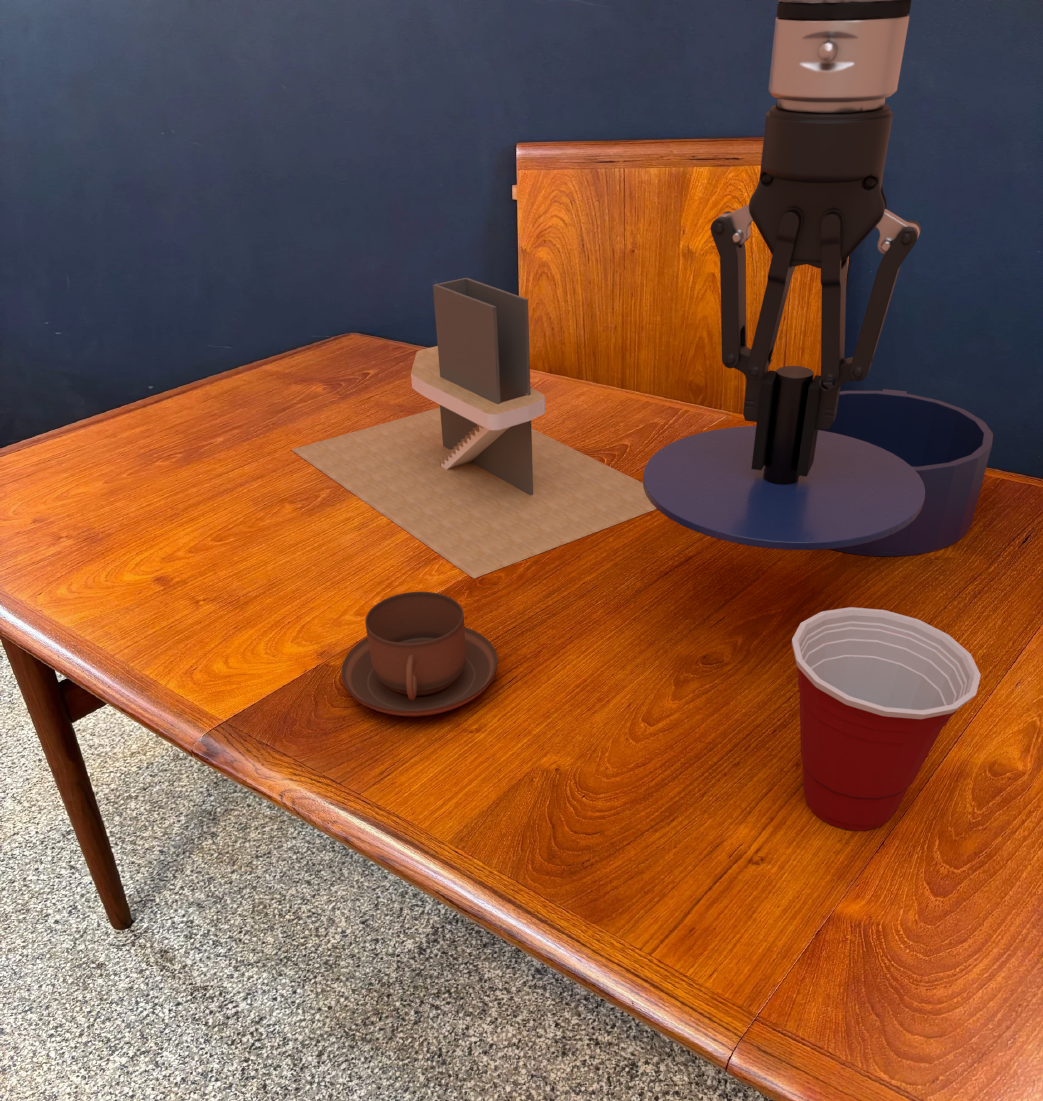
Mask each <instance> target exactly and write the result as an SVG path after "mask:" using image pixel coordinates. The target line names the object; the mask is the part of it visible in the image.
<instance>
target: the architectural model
mask: <svg viewBox="0 0 1043 1101" xmlns="http://www.w3.org/2000/svg"><path fill="white" fill-rule="evenodd" d="M432 290H433V292H432V294H433V304H434V306H433V307H434V317H435V330H436V342H437V343H436V344H437V345H435V346H432V347H427V348H424V349H420V350H418V351H416V353H415V357H414V360H413V362H412V363H413V364H412V367H411V371H410V377H411V388H412V389H413V390H414V391H416V392H417V393H418V394H420V395H421V396H422V397H424V398H426V399H429V400H430V401H432V402H434V403H436V404H438V405H439V407H437V408H433V409H430V410H426V411H422V412H419V413H415V414H412V415H409V416H405V417H402V418H398V419H394V420H391V421H387V422H384V423H379V424H376V425H372V426H370V427H366V428H363V429H359V430H355V431H352V432H349V433H344V434H341V435H338V436H334V437H330V438H327V439H324V440H319V441H317V442H313V443H309V444H305V445H301V446H299V447H295V448H292V449H290V450H291V451H292V452H293V453H295V454H296V455H298V456H299V458H302V459H303V460H305V461H306V462H307V463H309V464H310V465H312V466H313V467H314V468H316V469H317V470H319V471H320V472H321V473H323V474H325V475H326V476H328V477H329V478H330V479H331V480H333V481H334V482H336V483H337V484H338V485H340V486H341V487H343V488H344V489H345V490H347V491H348V492H350V493H351V494H352V495H354V496H356V497H357V498H358V499H360V500H361V501H363V502H364V503H366V504H367V505H368V506H370V507H371V508H373V510H376V511H377V512H378V513H380V514H381V515H383V517H385V518H387V519H388V520H390V522H393V523H394V524H395V525H396V526H398V527H400V528H402V530H404V531H405V532H406V533H408V534H409V535H411V536H412V537H414V538H415V539H416V540H418V541H419V542H421V543H422V544H424V545H425V546H427V547H428V548H430V549H431V550H433V551H434V552H435V553H437V554H438V555H439V556H441V557H442V558H444V560H446V561H448V562H449V563H450V564H452V565H454V566H455V567H456V568H458V569H459V570H461V571H462V572H463V573H464V574H466V575H468V576H469V577H471V578H472V579H477V578H479V577H483V576H485V575H487V574H490V573H493V572H496V571H498V570H500V569H503V568H505V567H509V566H511V565H514V564H517V563H519V562H521V561H524V560H527V559H529V558H532V557H534V556H537V555H539V554H542V553H545V552H548V551H550V550H553V549H555V548H559V547H561V546H563V545H566V544H568V543H572V542H574V541H576V540H579V539H582V538H585V537H587V536H590V535H592V534H594V533H597V532H600V531H603V530H605V529H608V528H610V527H613V526H616V525H618V524H621V523H624V522H627V521H629V520H632V519H634V518H637V517H639V516H643V515H644V514H647V513H650V512H652V511H655V510H658V509H657V508H656V507H655V506H654V505H653V504H652V503H651V502H650V500H649V499H648V497H647V496H646V494H645V491H644V488H643V482H642V481H639V480H638V479H635V478H634V477H632V476H629V475H627V474H625V473H624V472H621V471H619V470H617V469H615V468H613V467H611V466H609V465H607V464H606V463H604V462H601V461H599V460H598V459H595V458H593V457H591V456H589V455H586V454H585V453H582V452H581V451H579V450H576V449H574V448H573V447H570V446H568V445H567V444H564V443H562V442H560V441H558V440H556V439H554V438H552V437H551V436H548V435H546V434H544V433H542V432H540V431H538V430H536V429H535V428H532V420H534V419H537V418H539V417H541V416H543V415H545V414H546V413H547V412H546V410H547V409H546V395H545V394H543V393H542V392H540V391H538V390H537V389H535V388H534V387H531V359H530V356H531V355H530V323H529V319H530V318H529V299H528V298H525V297H522V296H521V295H517V294H514V293H512V292H509V291H506V290H503V289H500V288H497V287H495V286H491V285H489V284H486V283H483V282H480V281H477V280H475V279H472V278H468V277H463V278H459V279H453V280H449V281H445V282H440V283H435V284H432Z"/></svg>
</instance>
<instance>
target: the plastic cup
mask: <svg viewBox="0 0 1043 1101" xmlns="http://www.w3.org/2000/svg"><path fill="white" fill-rule="evenodd" d="M791 647H792V651H793V655H794V658H795V659H794V660H795V664H796V669H797V677H798V678H797V686H798V690H799V733H800V734H799V735H800V736H799V737H800V738H799V739H800V756H801V762H802V787H803V788H802V789H803V792H804V797H805V801H806V806H807V807H808V808H809V809H810V810H811V812H812V813H813V814H814V816H816V817H817V818H819V819H820V820H822V821H824V822H825V823H827V824H829V825H830V826H833V827H836V828H841V829H842V830H843V829H844V830H847V831H864V832H865V831H869V830H873V829H877V828H881V827H882V826H883V825H885V824H886V823H887V822H888V821H890V820H891V819H892V817H893V816H894V814H896V812H897V811H898V809H899V807H900V805H901V803H902V801H903V799H904V797H905V795H906V793H907V791H908V789H909V787H910V786H912V785H913V783H914V781H915V779H916V777H917V776H918V774H919V772H920V770H921V768H922V766H923V764H924V763H925V761H926V759H927V757H928V755H929V753H930V752H931V749H932V748H933V746H934V745H935V742H936V741H937V740H938V737H939V735H940V733H941V732H942V729H943V728H945V727H946V726H947V724H948V722H949V721H950V719H951V718H952V716H954V715H955V714H956V712H957V711H958V710H959V709H960V708H962V707H963V706H964V705H966V704H967V703H969V702H970V701H972V699H974V698H975V696H976V695H977V692H978V688H979V685H980V680H981V677H982V674H981V673H980V670H979V668H978V666H977V664H976V662H975V660H974V658H973V655H972V654H971V653H970V652H969V651H968V650H967V649H966V648H964V646H962V645H961V644H960V643H959V642H958V641H956V639H954V638H953V637H952V636H951V635H949V634H948V633H947V632H944V631H943V630H940V629H938V628H936V627H934V626H932V625H931V624H928V623H926V622H925V621H923V620H920V619H918V618H915V617H911V616H907V615H903V614H900V613H896V612H893V611H890V610H886V609H879V608H878V609H876V608H865V607H853V606H849V607H844V608H843V607H842V608H836V609H830V610H829V609H828V610H822V611H820V612H818V613H816V614H814V615H812V616H811V617H809V618H807V619H805V620H804V621H802V622H800V623H799V626H798V627H797V629H796V631H795V633H794V634H793V636H792V639H791Z"/></svg>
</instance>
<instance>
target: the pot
mask: <svg viewBox="0 0 1043 1101" xmlns="http://www.w3.org/2000/svg"><path fill="white" fill-rule="evenodd" d="M818 430H821V429H818ZM821 431H826V432H831V433H836V434H841V435H844V436H848V437H852V438H856V439H859V440H862V441H865V442H868V443H870V444H873V445H875V446H878V447H880V448H883V449H885V450H887V451H889V452H891V453H893V454H894V455H896V456H898V457H899V458H901V459H902V460H904V461H905V462H906V463H907V464H909V465H910V466H911V467H912V468H913V469H914V470H915V471H916V472H917V473H918V474H919V476H920V478H921V479H922V481H923V484H924V488H925V500H924V504H923V507H922V509H921V512H920V513H919V514H918V516H917V517H916V518H915V519H914V520H913V521H912V522H911V523H910V524H909V525H907V526H906V527H905V528H903V529H901V530H899V531H898V532H896V533H894V534H891V535H889V536H887V537H884V538H882V539H878V540H875V541H872V542H868V543H864V544H859V545H854V546H849V547H841V548H833V549H830V550H832V551H836V552H841V553H846V554H850V555H851V554H852V555H860V556H868V557H909V556H916V555H923V554H929V553H933V552H937V551H939V550H943V549H945V548H948V547H950V546H952V545H954V544H956V543H957V542H958V541H960V540H962V539H963V537H965V536H966V535H967V534H968V532H969V530H970V528H971V526H972V525H973V522H974V515H975V512H976V509H977V505H978V501H979V497H980V493H981V490H982V485H983V481H984V478H985V473H986V470H987V468H988V467H987V466H988V462H989V458H990V455H991V451H992V448H993V438H994V433H993V431H992V430H991V429H990V428H989V426H988V425H987V423H986V421H984V420H982V419H981V418H979V417H977V416H976V415H974V414H973V413H971V412H969V411H967V410H966V409H965V408H961V407H958V406H955V405H952V404H951V403H947V402H944V401H942V400H940V399H934V398H930V397H925V396H921V395H916V394H911V393H908V391H907V390H898V389H897V390H896V389H887V388H883V389H882V390H840V394H839V400H838V406H837V412H836V418H835V420H834V422H833V424H832V426H831V427H830V429H829V430H821Z"/></svg>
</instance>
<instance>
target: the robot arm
mask: <svg viewBox="0 0 1043 1101" xmlns="http://www.w3.org/2000/svg"><path fill="white" fill-rule="evenodd" d="M777 2H778V3H777V6H776V15H775V16H776V17H775V22H774V30H773V31H774V32H773V42H772V51H771V62H770V71H769V81H768V88H767V89H768V90H767V91H768V92H769V94H770V95H771V97H773V98H775V99H777V100H776V101H775V102H776V103H775V104H774V105H772V106H771V107H769V111H767V112H766V113H765V120H764V130H763V131H764V132H763V140H762V141H763V142H762V150H761V160H760V171H759V179H758V183H757V186H756V188H755V190H754V191H753V193H752V194H751V196H750V199H749V202H748V204H746V205H744V206H742V207H740V208H738V209H736V210H734V211H730V210H728V211H724V212H722V213H721V214H720V215H718V217H716V218H715V219H714V220H713V221H712V223H711V224H710V228H709V229H710V233H711V236H712V239H713V242H714V245H715V247H716V250H717V253H718V255H719V277H720V280H719V281H720V325H721V326H720V328H721V329H720V330H721V332H720V334H721V336H720V337H721V362H722V364H723V366H724V367H725V368H726V369H735V370H737V371H739V372H741V373H742V374H743V375H744V377H745V391H744V402H743V409H742V410H743V411H742V414H743V418H744V422H751V423H756V424H755V426H756V433H755V442H754V451H753V459H752V468H751V469H754V470H762V469H763V467H764V465H765V458H766V450H767V441H768V433H769V425H770V417H771V408H772V400H773V392H774V384H775V375H776V370H769V366H770V365H771V363H772V362H773V359H772V358H773V353H774V349H775V346H776V342H777V339H778V338H777V337H778V333H779V329H780V326H781V322H782V317H783V313H784V309H785V305H786V302H787V297H788V294H789V290H790V286H791V282H792V278H793V274H794V272H795V269H796V267H799V266H805V265H808V266H811V267H813V268H816V269H820V286H821V312H820V313H821V316H820V318H821V320H820V321H821V322H820V323H821V325H820V326H821V328H820V375H819V374H815V375H814V376H813V381H812V383H811V384H810V386H809V389H808V396H807V403H806V411H805V418H804V425H803V432H802V439H801V446H800V453H799V460H798V468H797V475H799V476H806V477H807V475H808V473H809V471H810V468H811V466H812V464H813V461H814V454H815V448H816V441H817V434H818V429H821V430H829V429H830V427H831V426H832V424H833V422H834V420H835V418H836V412H837V406H838V400H839V394H840V392H841V387H842V385H844V384H845V383H848V382H853V381H855V382H861V381H863V380H865V379H866V378H867V376H868V374H869V371H870V370H871V366H872V364H873V362H874V361H873V360H874V358H875V354H876V351H877V347H878V344H879V341H880V337H881V334H882V331H883V327H884V324H885V321H886V316H887V313H888V310H889V306H890V303H891V299H892V296H893V292H894V289H895V285H896V283H897V279H898V275H899V271H900V269H901V265H902V264H903V262H904V261H905V259H906V258H907V256H908V255H909V253H910V252H911V251H912V249H914V246H915V245H916V243H917V241H918V239H919V236H920V234H921V231H922V228H921V224H920V223H919V222H918V221H917V220H912V219H911V220H908V221H906V220H905V219H904V218H901V217H900V216H898V215H897V214H895V213H893V212H891V211H890V210H888V209H887V198H886V195H885V192H884V188H883V178H884V172H885V167H886V161H887V160H886V159H887V154H888V148H889V141H890V135H891V130H892V129H891V128H892V123H893V118H894V112H893V111H892V110H891V107H890V105H888V104H886V103H885V102H886V98H890V97H892V95H894V94H895V93H896V92H897V91H898V85H899V80H900V74H901V69H902V63H903V58H904V51H905V46H906V41H907V40H906V39H907V35H908V29H909V22H910V16H911V15H909V14H910V13H911V7H912V6H911V5H912V0H777ZM752 222H753V223H754V225H755V226H756V228H757V230H758V232H759V234H760V236H761V238H762V239H763V241H764V244H766V246H767V248H768V250H769V252H770V254H771V255H772V256H771V260H770V264H769V268H768V273H767V282H766V286H765V290H764V295H763V299H762V302H761V307H760V311H759V316H758V318H757V323H756V328H755V331H754V332H755V333H754V335H753V339H752V340H753V341H752V345H751V348H750V347H747V249H746V248H747V247H746V243H747V241H748V240H749V239H750V237H751V234H752V232H751V225H752ZM874 229H877V231H878V233H879V238H878V241H877V244H876V245H877V246H876V247H877V250H878V252H879V253H880V254H882V255H883V257H882V259H881V261H880V263H879V265H878V268H877V271H876V274H875V278H874V281H873V285H872V288H871V292H870V295H869V298H868V303H867V306H866V310H865V313H864V317H863V321H862V324H861V328H860V331H859V336H858V338H857V341H856V347H855V349H854V352H853V356H851V357H847V358H845V348H846V311H847V310H846V308H847V306H846V305H847V274H848V265H849V257H850V256H851V255H852V253H854V251H855V250H856V249H857V248H858V247H859V246H860V245H861V244H862V242H863V241H864V240H865V239H866V238H867V237H868V236H869V234H870V233H871V232H872V231H873V230H874Z"/></svg>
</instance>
